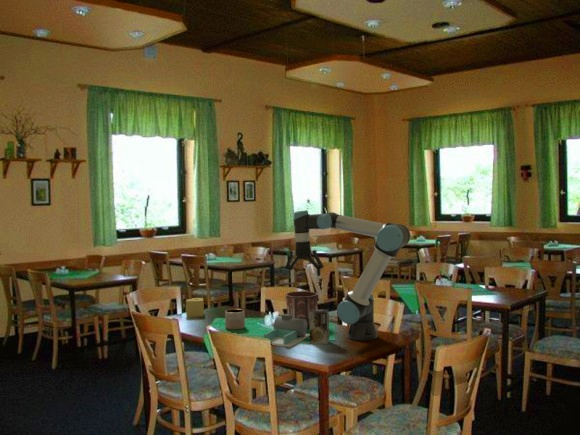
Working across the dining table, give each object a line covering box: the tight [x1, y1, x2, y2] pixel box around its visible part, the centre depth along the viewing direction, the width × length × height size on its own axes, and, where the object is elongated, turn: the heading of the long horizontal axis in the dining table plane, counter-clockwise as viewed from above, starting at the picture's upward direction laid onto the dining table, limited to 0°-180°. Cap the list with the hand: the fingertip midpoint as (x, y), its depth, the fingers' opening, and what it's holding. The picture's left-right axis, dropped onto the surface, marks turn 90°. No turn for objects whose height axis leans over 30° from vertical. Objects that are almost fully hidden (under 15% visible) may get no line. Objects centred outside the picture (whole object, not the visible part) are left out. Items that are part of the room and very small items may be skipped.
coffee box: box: [309, 308, 330, 345], centre depth 306 cm, size 9×6×16 cm
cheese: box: [185, 297, 205, 318], centre depth 375 cm, size 10×11×10 cm
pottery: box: [285, 290, 319, 329], centre depth 343 cm, size 18×18×18 cm
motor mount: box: [263, 313, 310, 348], centre depth 313 cm, size 19×24×12 cm
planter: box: [224, 308, 246, 331], centre depth 341 cm, size 11×11×10 cm
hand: (305, 282), depth 315 cm, fingers open, 13 cm apart
